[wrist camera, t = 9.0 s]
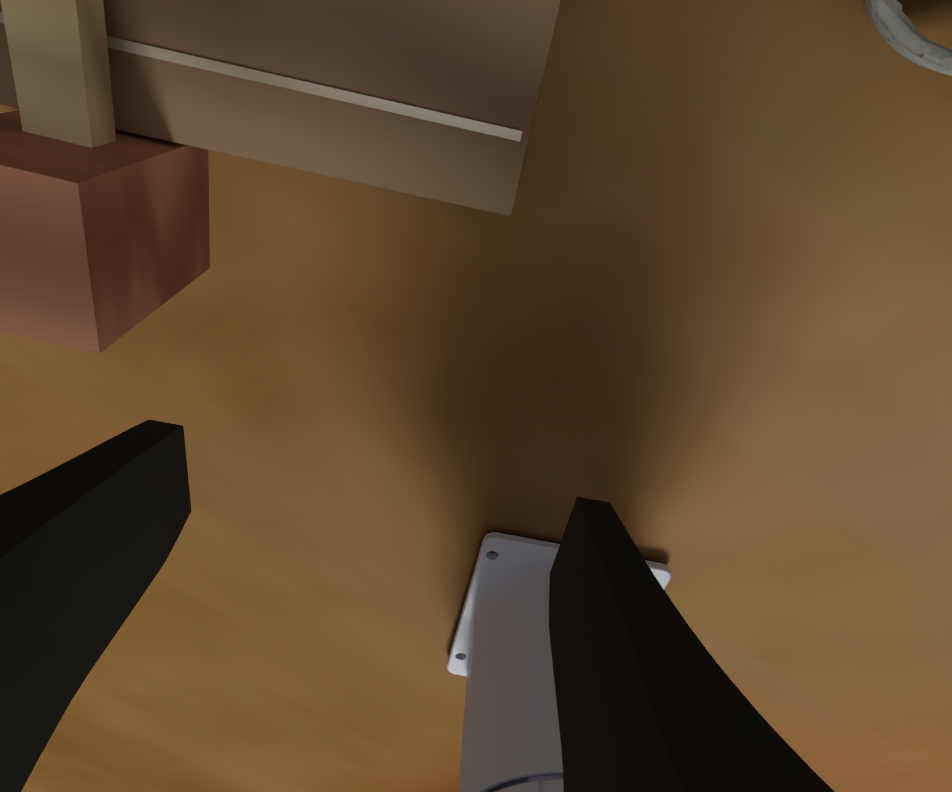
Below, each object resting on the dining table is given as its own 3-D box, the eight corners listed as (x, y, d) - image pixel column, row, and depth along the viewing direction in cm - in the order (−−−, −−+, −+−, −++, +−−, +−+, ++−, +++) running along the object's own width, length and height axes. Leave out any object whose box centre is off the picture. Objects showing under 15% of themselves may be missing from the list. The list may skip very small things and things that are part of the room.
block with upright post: (210, 267, 19) (99, 353, 14) (84, 238, 19) (-75, 315, 14) (203, -130, 14) (24, -223, 9) (29, -179, 14) (-261, -304, 9)
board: (511, 200, 17) (510, 217, 16) (26, 92, 17) (-25, 98, 15) (567, -48, 14) (574, -58, 13) (-27, -196, 13) (-98, -226, 12)
